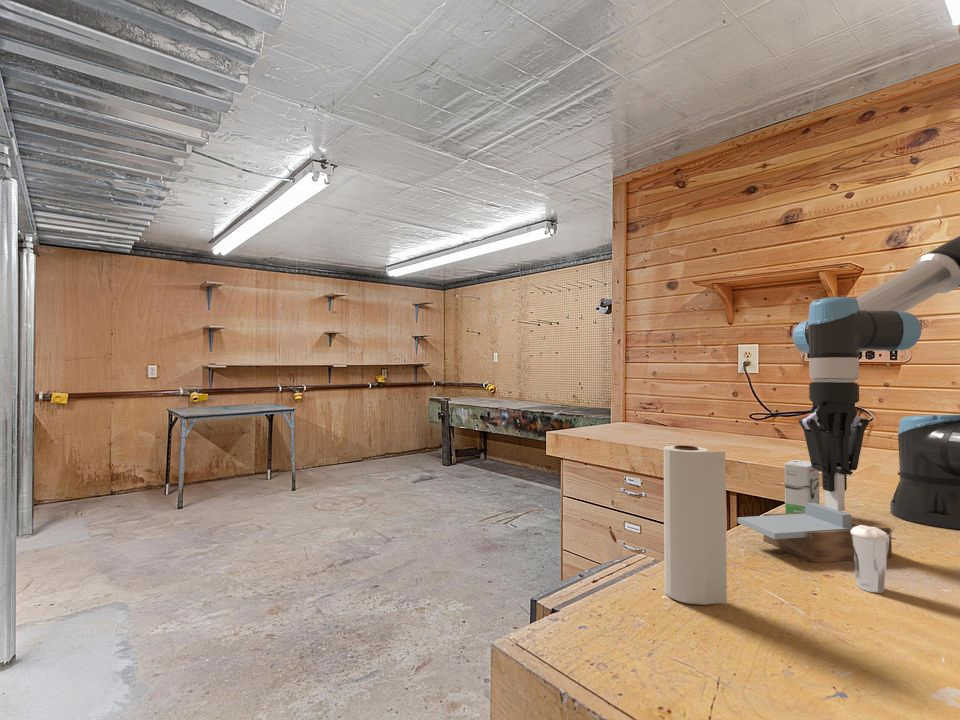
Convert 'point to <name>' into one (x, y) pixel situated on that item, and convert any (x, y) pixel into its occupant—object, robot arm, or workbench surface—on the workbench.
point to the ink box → (800, 485)
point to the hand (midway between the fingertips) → (834, 508)
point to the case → (822, 544)
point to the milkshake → (870, 557)
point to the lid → (799, 522)
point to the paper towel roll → (695, 525)
